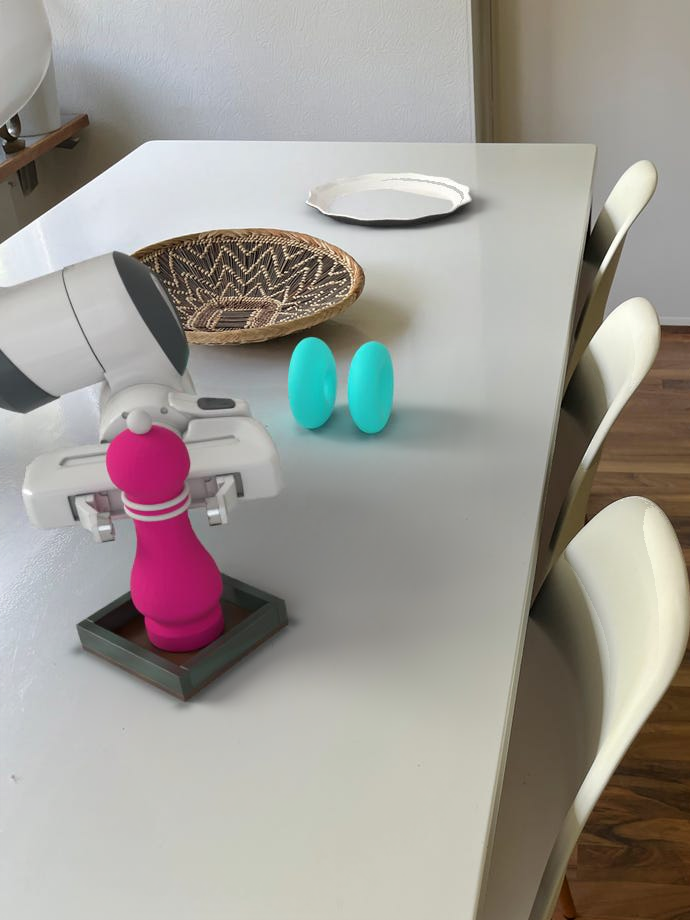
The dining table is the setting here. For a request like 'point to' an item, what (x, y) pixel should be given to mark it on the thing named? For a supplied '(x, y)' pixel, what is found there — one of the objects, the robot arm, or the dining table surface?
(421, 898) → the dining table surface
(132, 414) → the pepper mill
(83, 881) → the dining table surface
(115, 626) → the square tray
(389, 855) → the dining table surface
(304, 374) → the donuts
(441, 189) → the plate
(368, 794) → the dining table surface
